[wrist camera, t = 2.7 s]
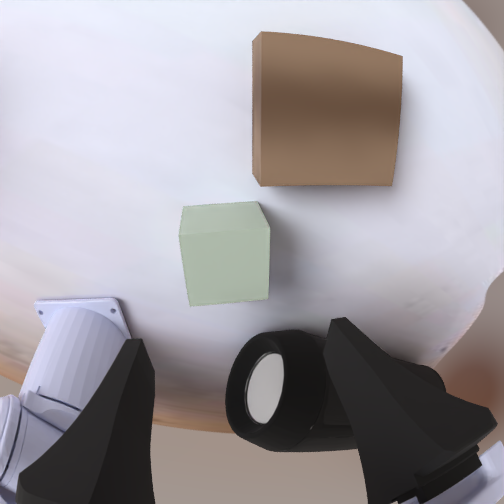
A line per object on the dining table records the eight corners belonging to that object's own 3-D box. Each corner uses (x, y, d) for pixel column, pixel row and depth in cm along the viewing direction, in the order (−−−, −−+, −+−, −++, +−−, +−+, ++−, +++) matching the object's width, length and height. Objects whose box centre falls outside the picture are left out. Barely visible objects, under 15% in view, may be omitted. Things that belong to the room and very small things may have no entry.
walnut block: (368, 172, 18) (391, 186, 16) (251, 171, 17) (260, 186, 15) (375, 58, 14) (402, 56, 12) (251, 42, 13) (261, 31, 11)
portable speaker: (429, 351, 31) (465, 407, 23) (379, 397, 35) (405, 452, 26) (275, 293, 22) (315, 408, 13) (215, 369, 25) (226, 468, 17)
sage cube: (256, 262, 20) (268, 299, 17) (190, 268, 20) (189, 306, 16) (256, 200, 18) (270, 227, 14) (183, 205, 17) (178, 235, 14)
